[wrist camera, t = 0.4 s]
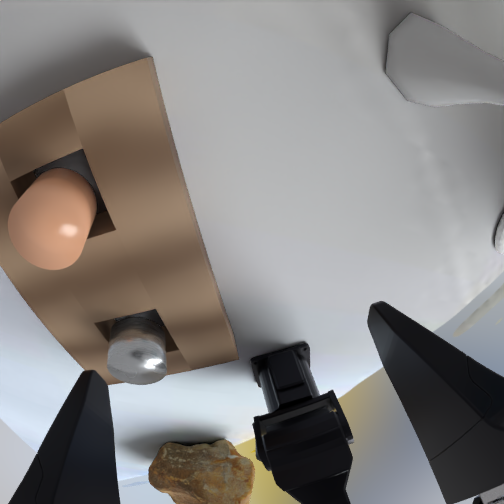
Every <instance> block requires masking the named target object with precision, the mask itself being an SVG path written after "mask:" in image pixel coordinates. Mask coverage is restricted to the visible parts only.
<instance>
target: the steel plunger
mask: <svg viewBox="0 0 504 504" xmlns="http://www.w3.org/2000/svg"><path fill="white" fill-rule="evenodd" d="M107 369H108V371H109V372H110V374H111V375H112V376H114V377H115V378H116V379H118V380H120V381H123V382H126V383H130V384H136V385H146V384H152V383H155V382H158V381H160V380H161V379H163V378H164V377H165V375H166V373H167V365H166V342H165V332H164V330H163V329H162V328H161V326H159V325H158V324H157V323H155V322H153V321H151V320H149V319H146V318H141V317H128V318H124V319H121V320H119V321H117V322H116V323H115V324H114V325H113V326H112V328H111V332H110V341H109V350H108V361H107Z"/></svg>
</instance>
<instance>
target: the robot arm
mask: <svg viewBox="0 0 504 504" xmlns="http://www.w3.org/2000/svg"><path fill="white" fill-rule="evenodd" d="M367 323H368V327H369V330H370V333H371V335H372V338H373V340H374V343H375V345H376V348H377V351H378V353H379V356H380V359H381V361H382V364H383V366H384V368H385V370H386V372H387V374H388V376H389V378H390V380H391V382H392V384H393V386H394V388H395V390H396V392H397V394H398V396H399V398H400V400H401V402H402V405H403V407H404V409H405V411H406V413H407V415H408V417H409V419H410V421H411V423H412V425H413V428H414V430H415V432H416V434H417V436H418V438H419V440H420V443H421V445H422V447H423V449H424V452H425V454H426V456H427V458H428V461H429V463H430V466H431V468H432V470H433V473H434V475H435V477H436V479H437V482H438V484H439V486H440V489H441V492H442V494H443V497H444V499H445V502H446V504H454V503H457V502H460V501H463V500H465V499H468V498H471V497H473V496H476V495H478V496H477V497H476V498H474V501H473V504H504V377H503V376H501V375H499V374H497V373H495V372H493V371H492V370H490V369H488V368H486V367H485V366H483V365H482V364H480V363H478V362H477V361H475V360H474V359H472V358H471V357H469V356H466V354H465V353H463V352H461V351H460V350H459V349H457V348H456V347H454V346H453V345H451V344H449V343H448V342H446V341H445V340H443V339H442V338H440V337H439V336H437V335H436V334H434V333H433V332H431V331H430V330H428V329H426V328H425V327H423V326H422V325H420V324H419V323H417V322H416V321H414V320H412V319H411V318H409V317H408V316H406V315H405V314H403V313H401V312H400V311H398V310H397V309H395V308H394V307H392V306H390V305H389V304H387V303H386V302H384V301H379V302H376V303H373V304H371V306H370V309H369V315H368V320H367ZM250 362H251V365H252V368H253V372H254V375H255V378H256V381H257V384H258V387H262V390H263V394H264V397H265V401H266V405H267V408H268V412H269V413H268V414H265V415H261V416H255V417H254V423H253V424H252V425H253V429H254V433H255V439H256V458H257V460H259V461H261V462H263V464H264V466H265V468H266V469H267V470H268V471H272V474H273V477H274V480H275V482H276V484H277V485H278V486H279V487H280V488H281V489H282V490H283V491H286V492H287V493H288V494H290V495H291V496H292V497H293V498H295V499H296V500H297V501H299V502H300V503H301V504H350V501H349V498H348V495H347V492H346V485H347V481H348V477H349V473H350V469H351V465H352V460H353V457H352V453H351V451H350V448H349V444H351V443H353V442H354V439H353V436H352V433H351V430H350V427H349V424H348V422H347V419H346V417H345V415H344V413H343V411H342V408H341V406H340V404H339V402H338V400H337V398H336V395H335V393H334V391H333V390H331V391H328V393H325V394H323V395H320V394H319V391H318V389H317V386H316V383H315V381H314V378H313V376H312V373H311V371H310V347H309V345H308V344H302V345H298V346H295V347H292V348H288V349H285V350H281V351H278V352H274V353H271V354H267V355H263V356H260V357H256V358H253V359H251V360H250ZM330 411H331V412H330ZM37 453H38V454H36V456H35V458H34V460H33V462H32V464H31V465H30V467H29V469H28V471H27V473H26V475H25V476H24V478H23V480H22V482H21V483H20V485H19V487H18V488H17V490H16V492H15V493H14V495H13V497H12V498H11V500H10V502H9V503H8V504H120V497H119V489H118V481H117V471H116V459H115V445H114V429H113V421H112V414H111V406H110V398H109V390H108V385H107V383H106V381H105V380H104V379H103V378H102V377H101V376H100V375H99V374H98V373H97V371H96V370H93V369H92V370H85V371H83V372H82V373H81V375H80V377H79V378H78V380H77V382H76V383H75V385H74V387H73V388H72V390H71V392H70V393H69V395H68V397H67V399H66V400H65V402H64V404H63V406H62V407H61V409H60V411H59V413H58V414H57V416H56V418H55V420H54V422H53V424H52V425H51V427H50V429H49V431H48V433H47V435H46V437H45V438H44V440H43V442H42V444H41V446H40V448H39V450H38V452H37Z"/></svg>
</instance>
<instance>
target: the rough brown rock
mask: <svg viewBox="0 0 504 504" xmlns="http://www.w3.org/2000/svg"><path fill="white" fill-rule="evenodd" d="M254 477H255V468H254V465H253V462H252V461H251V460H250V459H248V458H246V457H243V456H241V455H240V454H239V453H238V452H237V451H236V449H235V447H234V446H233V445H232V443H231V442H229V441H227V440H224V439H223V440H218V441H216V442H215V443H213V444H211V445H209V444H206V443H202V444H196V445H193V446H183V445H180V444H176V443H171V442H168V443H166V444H165V445H163V446H162V447H161V448H160V450H159V452H158V454H157V456H156V458H155V459H154V460H153V462H152V464H151V465H150V467H149V482H150V484H151V485H152V486H153V487H154V488H156V489H157V490H159V491H160V492H162V493H168V494H169V495H170V496H171V498H172V499H173V501H174V502H175V503H176V504H249V501H250V496H251V493H252V488H253V482H254Z"/></svg>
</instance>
